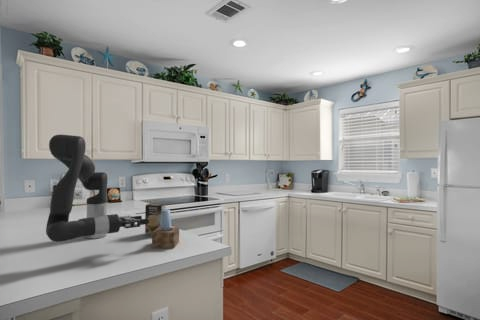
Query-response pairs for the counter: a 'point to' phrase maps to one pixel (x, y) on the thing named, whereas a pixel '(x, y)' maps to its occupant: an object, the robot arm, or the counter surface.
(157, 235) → the socket block
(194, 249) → the counter surface
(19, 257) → the counter surface
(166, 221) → the peg
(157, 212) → the coffee box
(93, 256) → the counter surface
